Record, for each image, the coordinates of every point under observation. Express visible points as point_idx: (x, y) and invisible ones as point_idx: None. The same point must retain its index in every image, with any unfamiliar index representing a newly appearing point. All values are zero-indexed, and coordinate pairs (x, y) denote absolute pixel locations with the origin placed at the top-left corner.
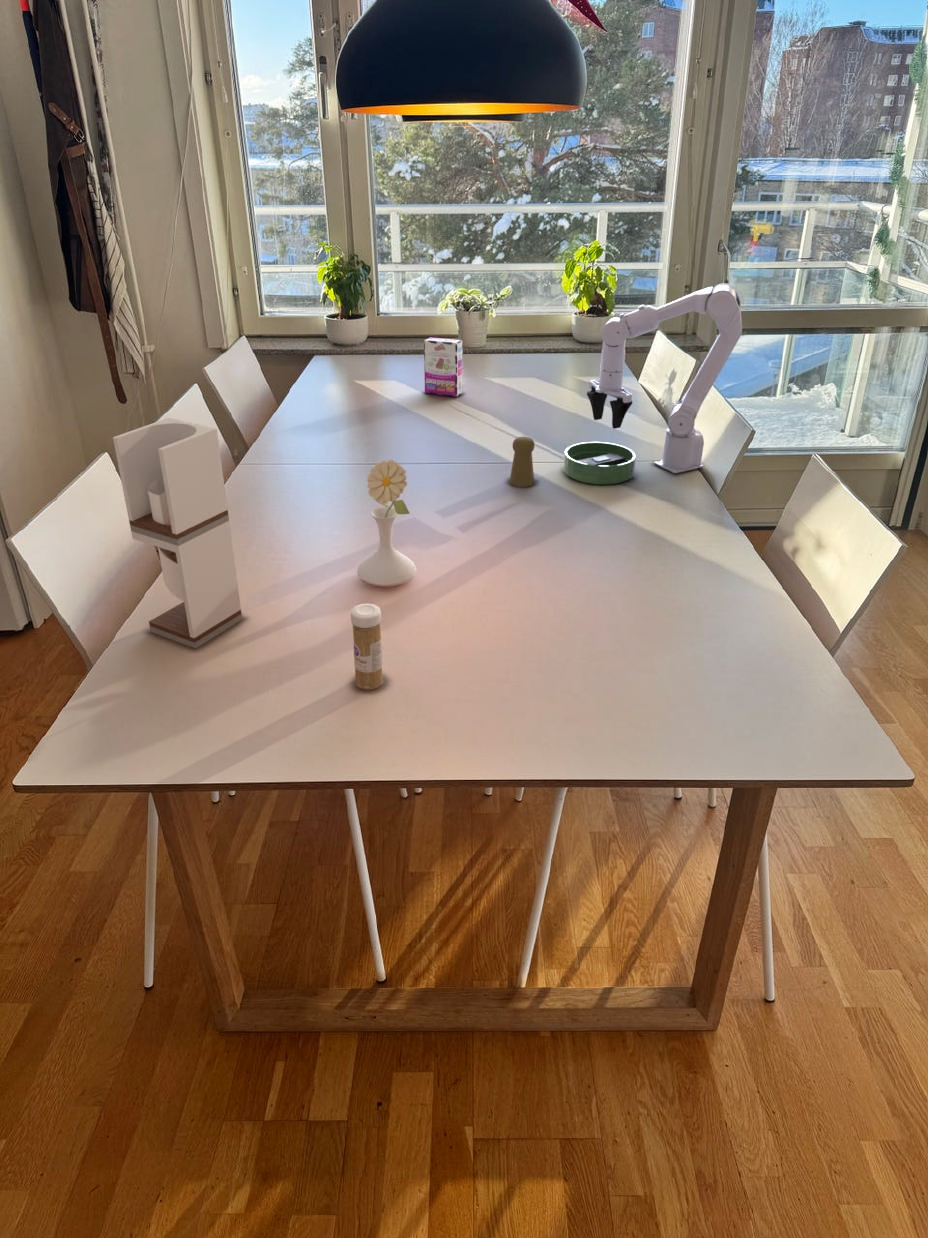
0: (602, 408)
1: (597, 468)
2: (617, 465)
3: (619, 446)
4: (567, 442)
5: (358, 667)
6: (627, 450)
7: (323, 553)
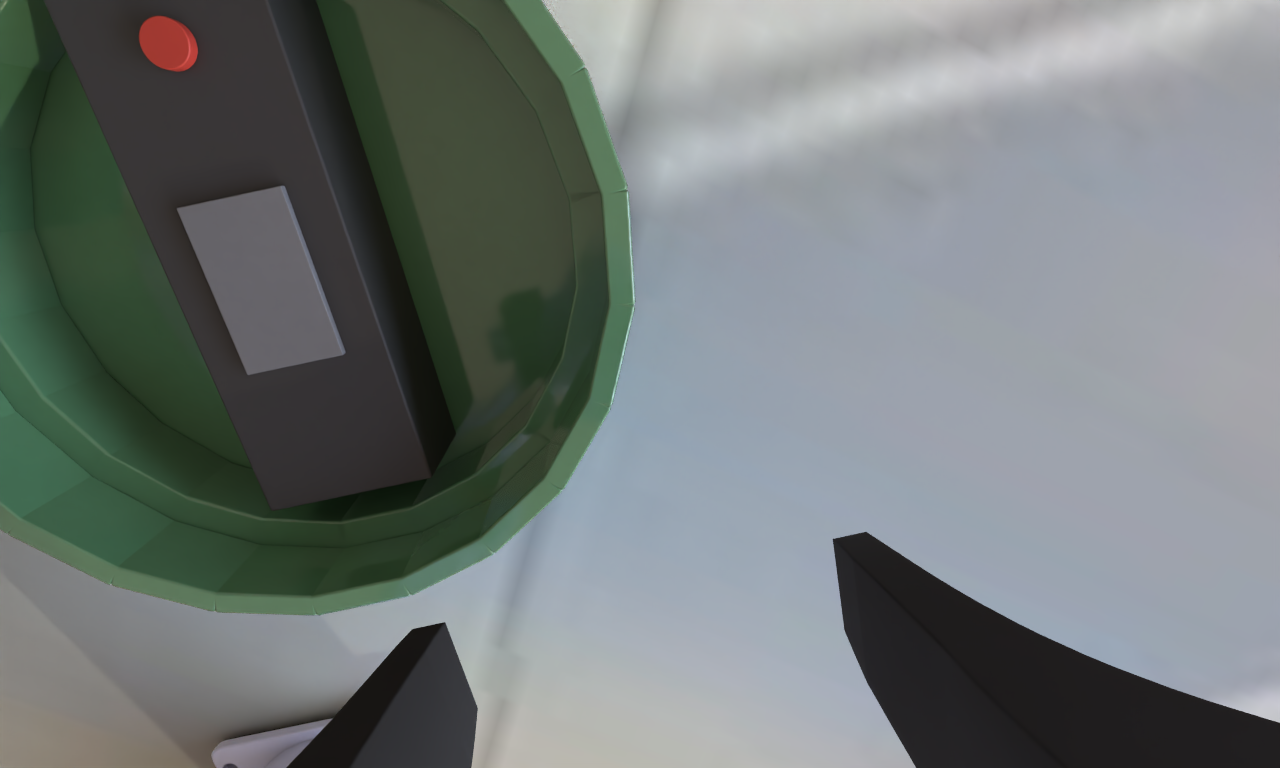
0: (921, 757)
1: None
2: None
3: (433, 557)
4: (1080, 305)
5: None
6: (330, 585)
7: None
